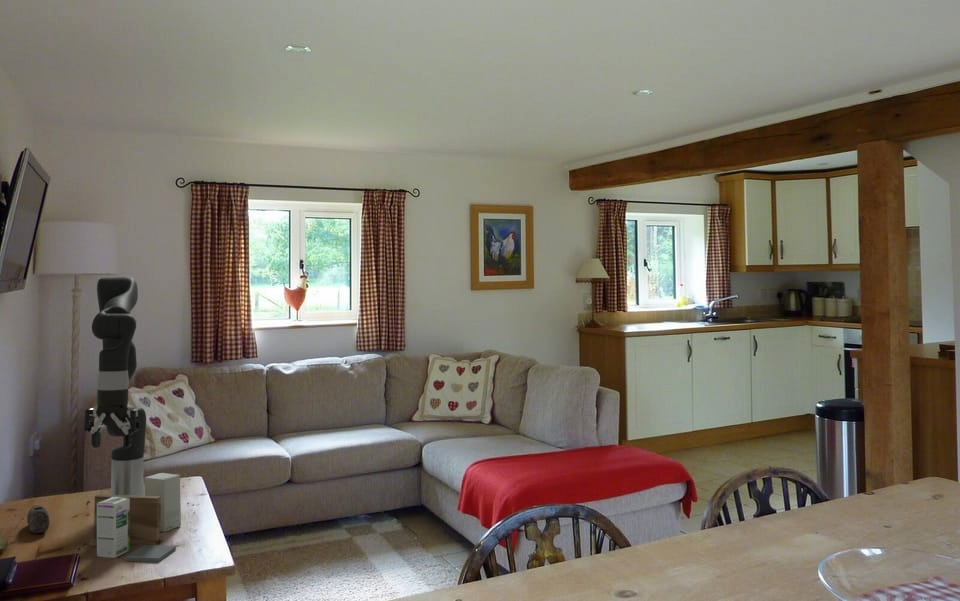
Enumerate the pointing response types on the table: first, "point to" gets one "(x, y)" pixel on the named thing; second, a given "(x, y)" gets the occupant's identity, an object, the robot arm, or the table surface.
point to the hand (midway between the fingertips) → (111, 447)
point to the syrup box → (113, 527)
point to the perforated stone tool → (38, 519)
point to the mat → (150, 553)
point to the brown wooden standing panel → (138, 519)
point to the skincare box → (166, 498)
